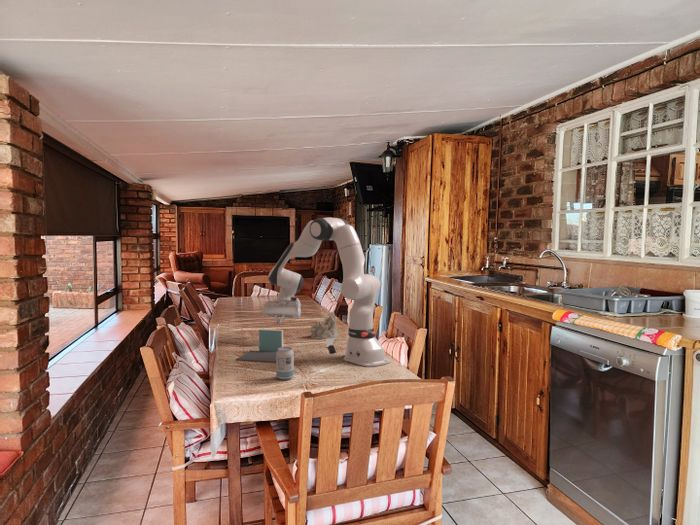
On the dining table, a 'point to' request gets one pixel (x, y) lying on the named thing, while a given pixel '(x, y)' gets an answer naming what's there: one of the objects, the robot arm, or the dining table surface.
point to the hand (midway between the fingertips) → (278, 323)
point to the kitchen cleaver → (330, 345)
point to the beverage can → (284, 363)
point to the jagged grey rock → (325, 328)
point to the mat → (259, 356)
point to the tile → (270, 340)
